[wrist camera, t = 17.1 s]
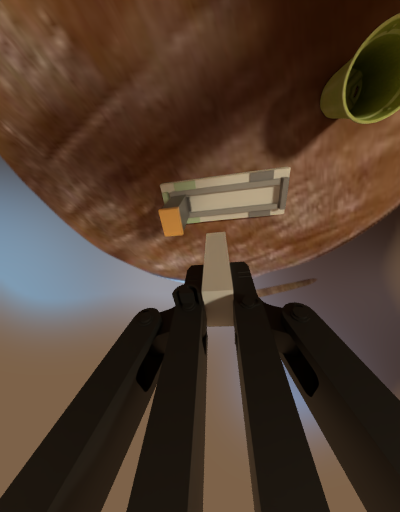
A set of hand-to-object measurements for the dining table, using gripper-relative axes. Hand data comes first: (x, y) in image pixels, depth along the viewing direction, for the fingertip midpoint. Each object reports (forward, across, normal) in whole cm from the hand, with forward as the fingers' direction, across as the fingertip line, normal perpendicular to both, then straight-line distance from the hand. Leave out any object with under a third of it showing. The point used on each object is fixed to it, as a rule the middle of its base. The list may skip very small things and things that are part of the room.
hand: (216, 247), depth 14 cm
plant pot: (+27, +22, +12) cm, 36 cm away
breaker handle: (+24, -7, -2) cm, 26 cm away
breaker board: (+26, +2, -2) cm, 27 cm away
